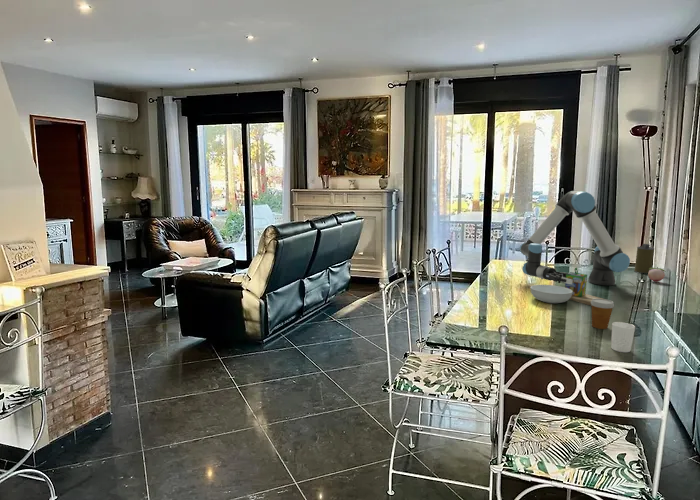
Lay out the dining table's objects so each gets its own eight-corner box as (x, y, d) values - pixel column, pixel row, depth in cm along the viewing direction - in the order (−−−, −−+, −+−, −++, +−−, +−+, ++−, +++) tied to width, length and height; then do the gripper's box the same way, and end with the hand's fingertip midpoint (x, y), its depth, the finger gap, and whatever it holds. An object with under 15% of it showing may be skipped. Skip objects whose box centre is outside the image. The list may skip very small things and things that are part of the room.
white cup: (611, 344, 204) (613, 320, 202) (633, 348, 200) (636, 324, 198) (608, 350, 198) (610, 325, 196) (630, 354, 193) (634, 329, 192)
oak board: (569, 292, 289) (569, 289, 289) (607, 302, 269) (608, 299, 269) (552, 294, 283) (552, 292, 282) (591, 305, 262) (591, 302, 262)
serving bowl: (569, 298, 275) (571, 286, 274) (572, 308, 256) (574, 295, 254) (529, 294, 282) (530, 282, 281) (529, 303, 262) (530, 291, 261)
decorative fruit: (648, 282, 321) (650, 267, 319) (646, 280, 328) (648, 265, 326) (665, 284, 317) (667, 268, 315) (662, 281, 325) (665, 266, 323)
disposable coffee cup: (583, 323, 231) (586, 298, 229) (603, 323, 232) (606, 298, 230) (595, 330, 221) (598, 303, 219) (616, 330, 222) (619, 304, 220)
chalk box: (581, 297, 271) (584, 270, 269) (563, 294, 277) (566, 268, 274) (585, 294, 278) (588, 268, 276) (568, 291, 284) (571, 265, 282)
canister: (654, 274, 349) (658, 245, 345) (639, 273, 349) (642, 244, 345) (645, 270, 359) (649, 242, 356) (630, 270, 359) (634, 242, 356)
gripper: (559, 277, 300) (592, 285, 281) (531, 281, 288) (564, 289, 270) (561, 265, 299) (594, 272, 280) (532, 268, 287) (565, 276, 268)
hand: (579, 281), depth 275 cm, fingers closed on chalk box, 11 cm apart
